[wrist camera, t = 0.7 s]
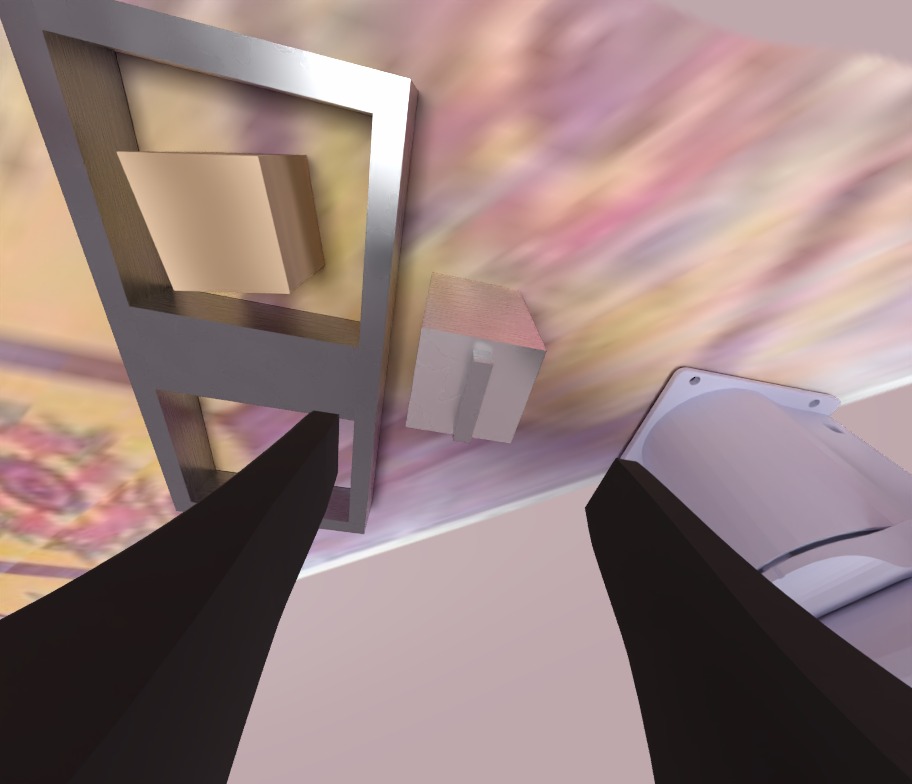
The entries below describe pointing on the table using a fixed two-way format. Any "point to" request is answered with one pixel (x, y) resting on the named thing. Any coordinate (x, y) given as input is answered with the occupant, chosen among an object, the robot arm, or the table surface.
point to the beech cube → (228, 218)
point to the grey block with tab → (474, 361)
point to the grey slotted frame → (196, 313)
